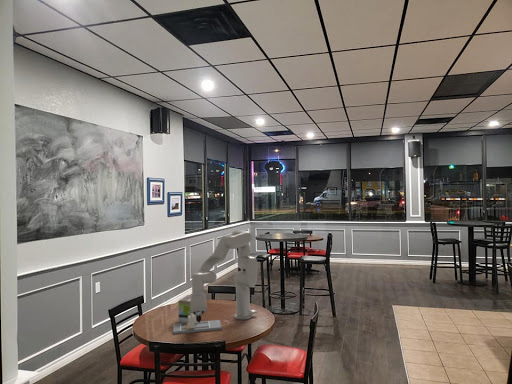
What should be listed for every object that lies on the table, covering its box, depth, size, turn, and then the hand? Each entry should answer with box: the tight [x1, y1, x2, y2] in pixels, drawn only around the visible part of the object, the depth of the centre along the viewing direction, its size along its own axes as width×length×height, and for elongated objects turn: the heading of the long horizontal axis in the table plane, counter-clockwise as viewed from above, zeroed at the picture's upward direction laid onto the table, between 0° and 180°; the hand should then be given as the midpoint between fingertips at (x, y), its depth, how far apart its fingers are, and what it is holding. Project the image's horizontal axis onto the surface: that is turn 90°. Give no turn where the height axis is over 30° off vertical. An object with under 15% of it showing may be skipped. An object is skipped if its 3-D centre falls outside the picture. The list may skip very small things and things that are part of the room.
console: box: [172, 319, 223, 335], centre depth 225 cm, size 30×14×2 cm, turn 101°
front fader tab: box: [188, 315, 195, 329], centre depth 220 cm, size 4×3×7 cm
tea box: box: [178, 294, 200, 323], centre depth 242 cm, size 15×10×15 cm, turn 168°
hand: (198, 321), depth 221 cm, fingers closed
